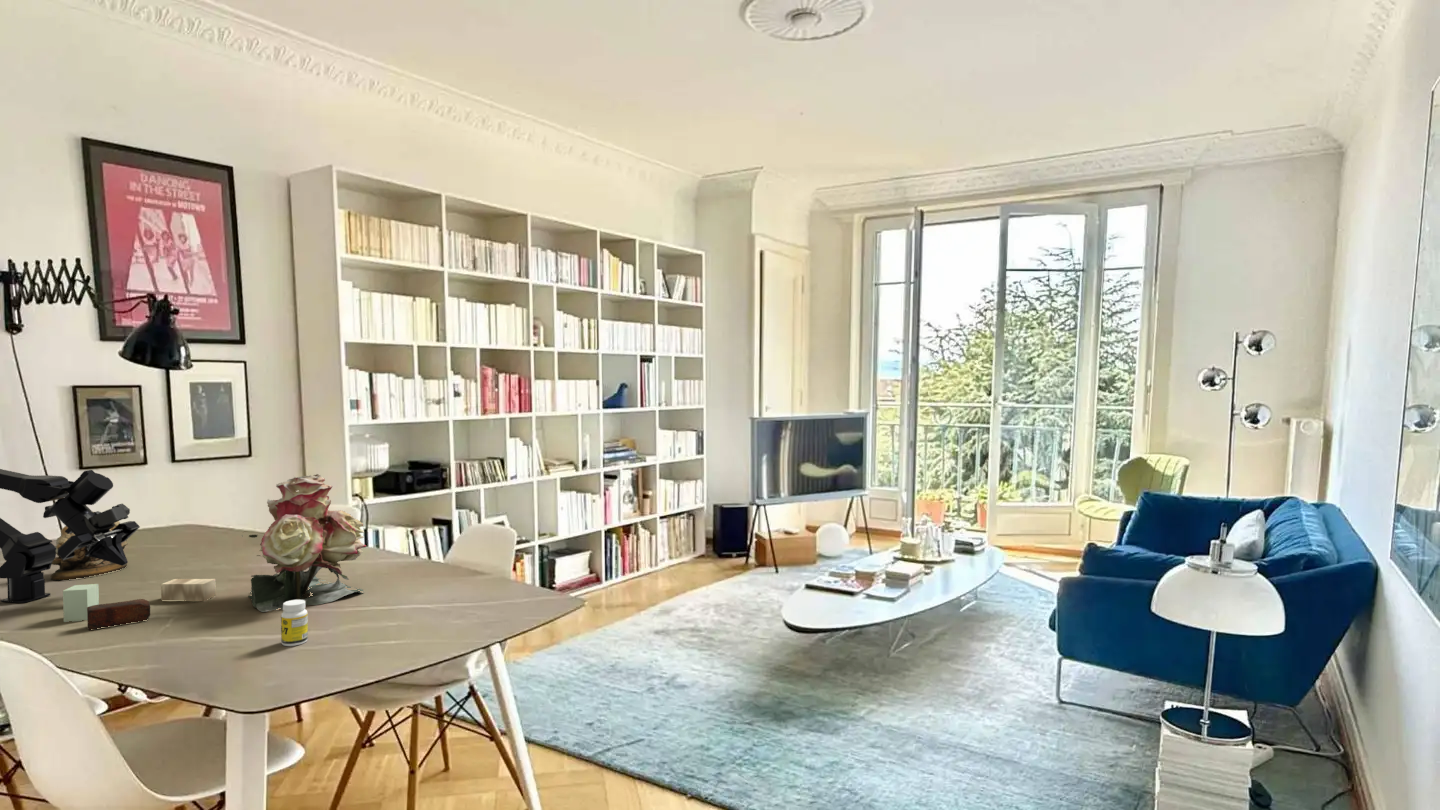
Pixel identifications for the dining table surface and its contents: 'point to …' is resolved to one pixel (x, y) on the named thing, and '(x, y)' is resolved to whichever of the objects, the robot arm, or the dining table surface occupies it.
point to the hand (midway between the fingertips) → (125, 564)
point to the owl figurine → (81, 561)
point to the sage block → (79, 601)
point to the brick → (117, 613)
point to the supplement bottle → (294, 623)
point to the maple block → (188, 589)
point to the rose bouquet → (305, 546)
